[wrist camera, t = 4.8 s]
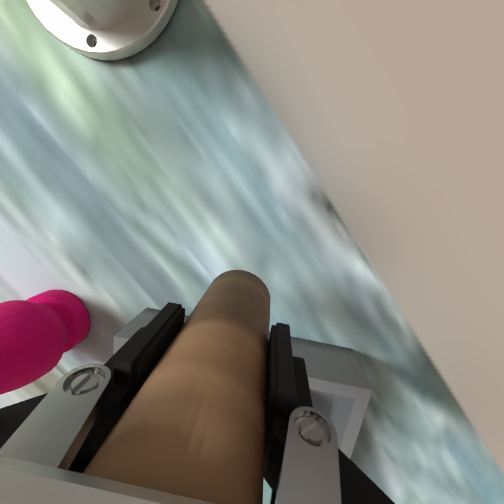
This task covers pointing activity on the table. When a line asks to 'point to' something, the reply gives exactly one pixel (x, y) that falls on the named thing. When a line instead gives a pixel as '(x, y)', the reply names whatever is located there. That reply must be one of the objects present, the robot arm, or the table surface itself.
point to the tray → (320, 383)
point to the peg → (201, 404)
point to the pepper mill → (38, 335)
